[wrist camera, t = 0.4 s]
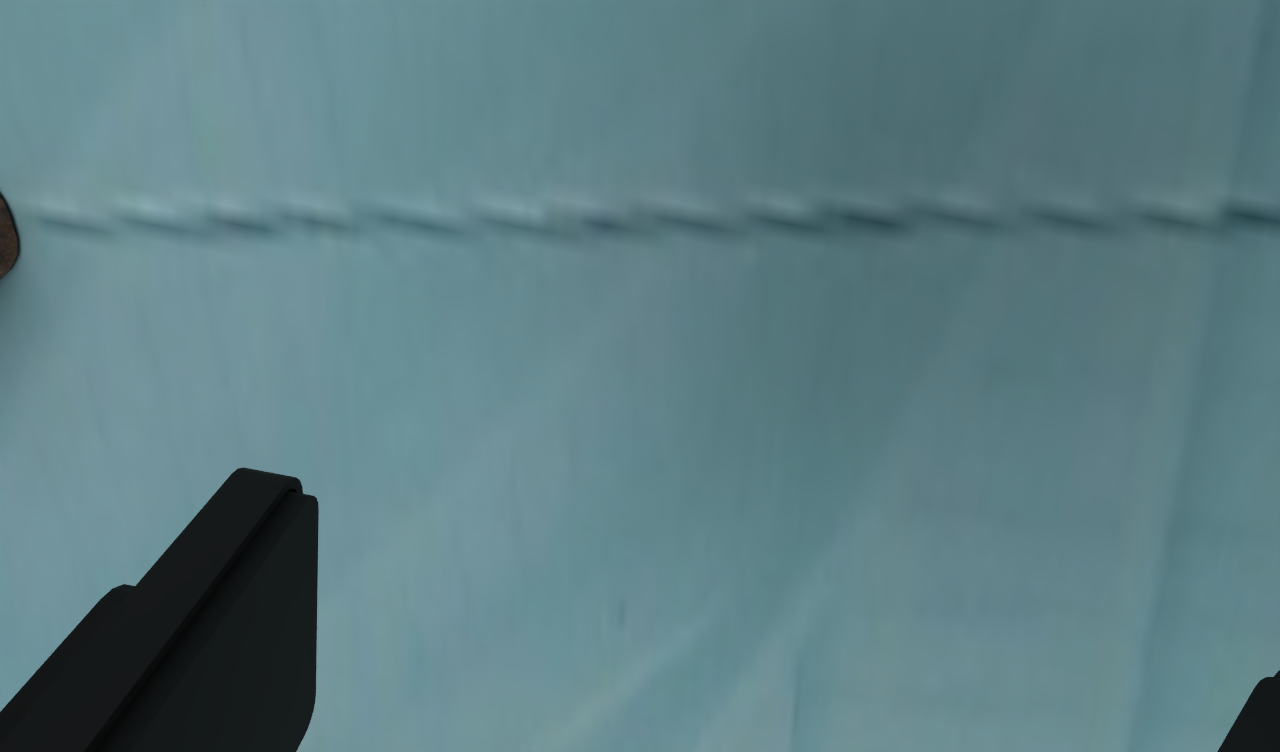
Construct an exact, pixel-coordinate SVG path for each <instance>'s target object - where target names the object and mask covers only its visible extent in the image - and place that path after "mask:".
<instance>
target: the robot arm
mask: <svg viewBox="0 0 1280 752" xmlns="http://www.w3.org/2000/svg"><path fill="white" fill-rule="evenodd" d="M317 574H318V501H317V498H316V497H314V496H311V495H306V494H303V491H302V485H301V482H300V480H299V479H297V478H296V477H291V476H285V475H280V474H275V473H269V472H264V471H259V470H253V469H248V468H239V469H237V470H236V471H235V472H233V473H232V474H231V475H230V477H229V478H228V479H227V480H226V481H225V482H224V484H223V485H222V486H221V487H220V488H219V489H218V491H217V492H216V493H215V494H214V495H213V496H212V498H211V499H210V500H209V501H208V502H207V503H206V505H205V506H204V507H203V508H202V509H201V510H200V512H199V513H198V514H197V515H196V516H195V517H194V519H193V520H192V521H191V522H190V523H189V524H188V526H187V527H186V528H185V529H184V530H183V531H182V533H181V534H180V535H179V536H178V537H177V538H176V540H175V541H174V542H173V543H172V544H171V545H170V547H169V548H168V549H167V550H166V551H165V552H164V554H163V555H162V556H161V557H160V558H159V559H158V561H157V562H156V563H155V564H154V565H153V566H152V568H151V569H150V570H149V571H148V572H147V573H146V574H145V576H144V577H143V578H142V579H141V580H140V581H139V583H138V584H137V585H136V586H131V585H125V584H123V585H121V586H118V587H116V588H113V589H112V590H111V591H110V592H108V593H107V594H106V595H105V596H104V597H103V598H102V599H100V601H99V602H98V603H97V604H96V605H95V606H94V607H93V608H92V610H91V611H90V612H89V613H88V614H87V615H86V616H85V617H84V619H83V620H82V621H81V622H80V623H79V624H78V625H77V626H76V628H75V629H74V630H73V631H72V632H71V633H70V634H69V635H68V637H67V638H66V639H65V640H64V641H63V642H62V643H61V644H60V646H59V647H58V648H57V649H56V650H55V651H54V652H53V653H52V655H51V656H50V657H49V658H48V659H47V660H46V661H45V662H44V664H43V665H42V666H41V667H40V668H39V669H38V670H37V671H36V673H35V674H34V675H33V676H32V677H31V678H30V679H29V680H28V681H27V683H26V684H25V685H24V686H23V687H22V688H21V689H20V690H19V692H18V693H17V694H16V695H15V696H14V697H13V698H12V699H11V701H10V702H9V703H8V704H7V705H6V706H5V707H4V708H3V710H2V711H1V712H0V752H296V751H297V749H298V747H299V745H300V743H301V741H302V739H303V737H304V735H305V733H306V731H307V729H308V726H309V723H310V720H311V717H312V713H313V710H314V704H315V696H316V641H317ZM1218 752H1280V671H1278V672H1277V673H1276V675H1275V676H1274V677H1266V678H1264V679H1262V680H1261V681H1259V683H1258V684H1257V685H1256V687H1255V688H1254V690H1253V692H1252V693H1251V695H1250V697H1249V698H1248V700H1247V702H1246V704H1245V705H1244V707H1243V709H1242V710H1241V712H1240V714H1239V716H1238V717H1237V719H1236V721H1235V723H1234V724H1233V726H1232V728H1231V729H1230V731H1229V733H1228V735H1227V736H1226V738H1225V740H1224V742H1223V743H1222V745H1221V747H1220V748H1219V750H1218Z"/></svg>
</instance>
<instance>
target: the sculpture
mask: <svg viewBox="0 0 1280 752" xmlns="http://www.w3.org/2000/svg"><path fill="white" fill-rule="evenodd" d="M17 252H18V241H17V237H16V234H15V231H14V227H13V224H12V221H11V218H10V214H9V212H8V210H7V208H6V205H5V203H4V201H3V200H2V198H1V197H0V278H2V277H3V276H4V275H5V274H6V273H7V272H8V271H9V270H10V269H11V267H12V265H13V263H14V261H15V259H16V257H17Z"/></svg>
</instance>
